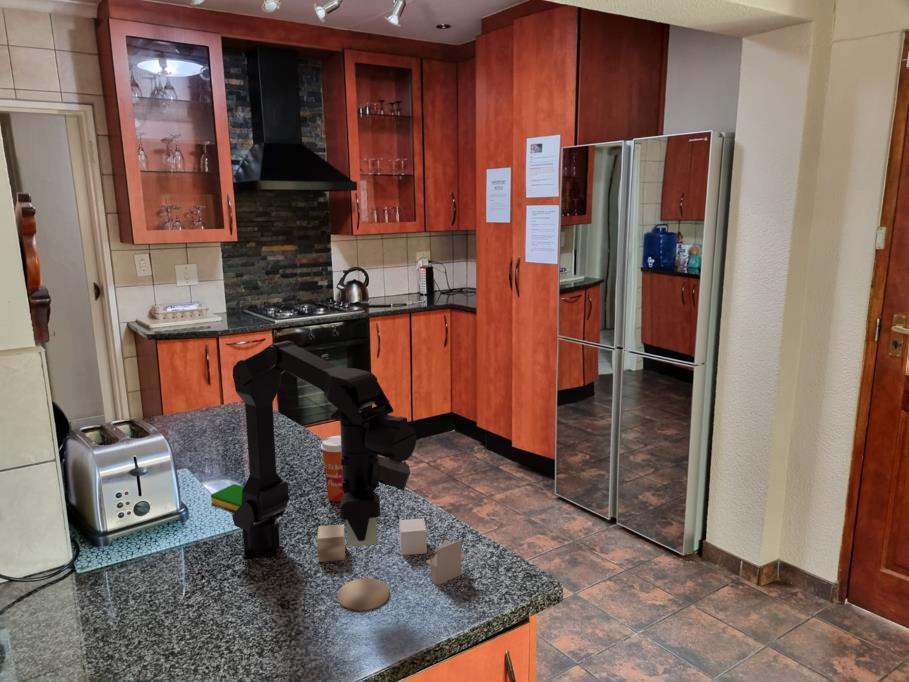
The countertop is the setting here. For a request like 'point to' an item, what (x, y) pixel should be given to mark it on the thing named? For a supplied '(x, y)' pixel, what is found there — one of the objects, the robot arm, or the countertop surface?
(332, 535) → the maple block
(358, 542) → the sage block
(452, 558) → the architectural model
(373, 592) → the coaster
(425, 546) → the offwhite block
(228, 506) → the dish sponge
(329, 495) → the paper cup
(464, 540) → the countertop surface
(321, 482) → the countertop surface
